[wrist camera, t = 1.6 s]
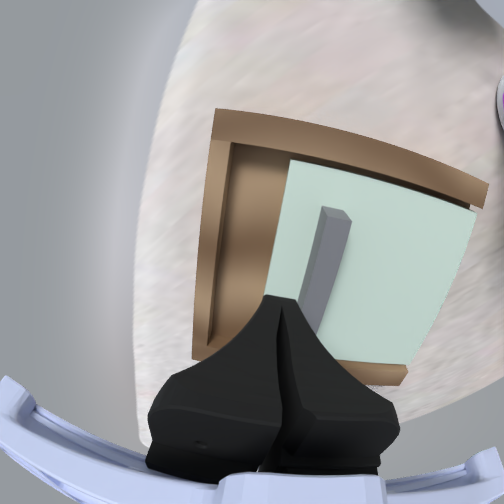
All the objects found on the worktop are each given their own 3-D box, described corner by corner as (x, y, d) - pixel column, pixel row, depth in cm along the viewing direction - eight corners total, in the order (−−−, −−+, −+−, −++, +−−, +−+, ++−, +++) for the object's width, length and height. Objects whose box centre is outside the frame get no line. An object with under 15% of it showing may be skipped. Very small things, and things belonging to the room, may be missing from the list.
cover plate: (405, 356, 19) (416, 383, 16) (254, 337, 19) (249, 368, 17) (469, 208, 14) (495, 223, 11) (290, 158, 14) (292, 163, 12)
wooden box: (390, 361, 21) (399, 385, 18) (201, 334, 22) (191, 359, 19) (464, 175, 15) (489, 184, 12) (226, 112, 15) (215, 108, 13)
